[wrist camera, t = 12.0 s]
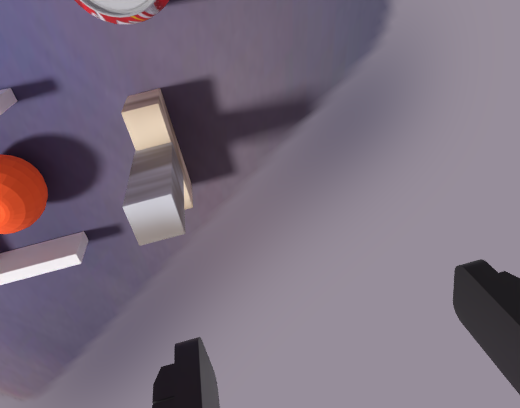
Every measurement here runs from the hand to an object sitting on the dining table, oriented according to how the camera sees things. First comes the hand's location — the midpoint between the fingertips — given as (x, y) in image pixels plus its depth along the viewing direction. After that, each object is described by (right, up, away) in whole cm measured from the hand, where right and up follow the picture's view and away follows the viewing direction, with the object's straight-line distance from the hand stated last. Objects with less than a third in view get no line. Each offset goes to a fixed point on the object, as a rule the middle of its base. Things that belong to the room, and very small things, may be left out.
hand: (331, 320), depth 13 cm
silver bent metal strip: (-12, +9, +27) cm, 31 cm away
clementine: (-26, +6, +27) cm, 38 cm away
